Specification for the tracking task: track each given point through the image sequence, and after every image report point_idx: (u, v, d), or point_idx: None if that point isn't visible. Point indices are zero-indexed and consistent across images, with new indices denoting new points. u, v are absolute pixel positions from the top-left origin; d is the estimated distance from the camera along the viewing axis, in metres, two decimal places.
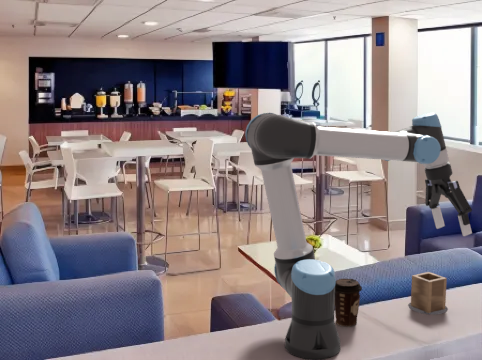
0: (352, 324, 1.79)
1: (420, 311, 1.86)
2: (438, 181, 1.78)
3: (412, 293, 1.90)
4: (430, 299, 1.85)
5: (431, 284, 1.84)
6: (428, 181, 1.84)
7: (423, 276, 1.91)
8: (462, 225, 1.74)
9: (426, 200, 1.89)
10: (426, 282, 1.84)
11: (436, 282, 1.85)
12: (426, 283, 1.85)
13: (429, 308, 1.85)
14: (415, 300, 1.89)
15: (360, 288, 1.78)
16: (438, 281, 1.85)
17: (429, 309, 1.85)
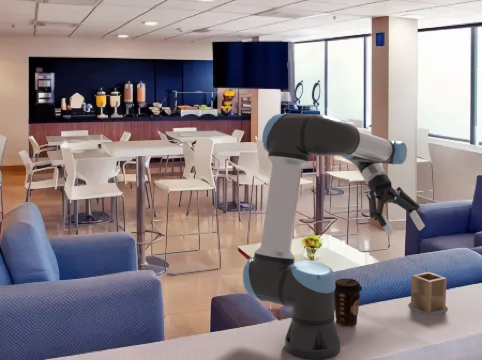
0: (352, 324, 1.79)
1: (420, 311, 1.86)
2: (386, 188, 2.04)
3: (412, 293, 1.90)
4: (430, 299, 1.85)
5: (431, 284, 1.84)
6: None
7: (423, 276, 1.91)
8: None
9: (374, 209, 1.96)
10: (426, 282, 1.84)
11: (436, 282, 1.85)
12: (426, 283, 1.85)
13: (429, 308, 1.85)
14: (415, 300, 1.89)
15: (360, 288, 1.78)
16: (438, 281, 1.85)
17: (429, 309, 1.85)
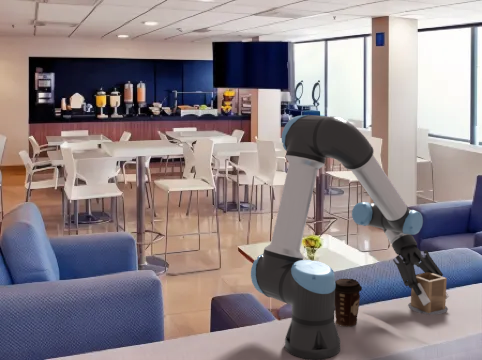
0: (352, 324, 1.79)
1: (420, 311, 1.86)
2: (411, 250, 1.95)
3: (412, 293, 1.90)
4: (430, 299, 1.85)
5: (431, 284, 1.84)
6: None
7: (423, 276, 1.91)
8: None
9: (408, 276, 1.87)
10: (426, 282, 1.85)
11: (436, 282, 1.85)
12: (426, 283, 1.85)
13: (429, 308, 1.85)
14: (415, 300, 1.89)
15: (360, 288, 1.78)
16: (438, 281, 1.85)
17: (429, 309, 1.85)
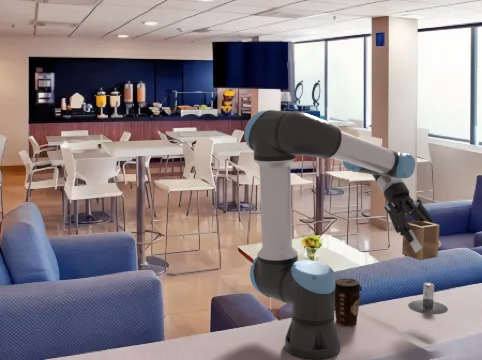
0: (352, 324, 1.79)
1: (420, 311, 1.86)
2: (403, 198, 1.89)
3: (404, 241, 1.84)
4: (422, 245, 1.78)
5: (423, 230, 1.78)
6: None
7: (415, 224, 1.85)
8: None
9: (399, 223, 1.81)
10: (418, 228, 1.78)
11: (428, 228, 1.79)
12: (418, 229, 1.78)
13: (421, 255, 1.79)
14: (407, 248, 1.83)
15: (360, 288, 1.78)
16: (430, 227, 1.79)
17: (421, 256, 1.79)
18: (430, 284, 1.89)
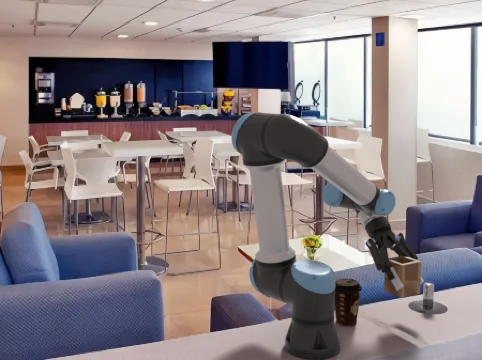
0: (352, 324, 1.79)
1: (420, 311, 1.86)
2: (384, 232, 1.85)
3: (385, 278, 1.80)
4: (403, 283, 1.75)
5: (404, 268, 1.74)
6: None
7: (397, 260, 1.81)
8: None
9: (380, 260, 1.77)
10: (399, 266, 1.75)
11: (410, 265, 1.75)
12: (399, 267, 1.75)
13: (402, 293, 1.75)
14: (388, 285, 1.79)
15: (360, 288, 1.78)
16: (412, 264, 1.75)
17: (402, 294, 1.75)
18: (430, 284, 1.89)
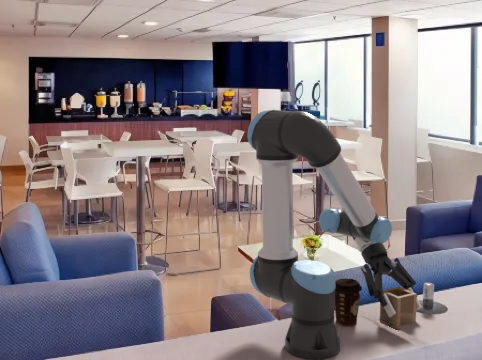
0: (352, 324, 1.79)
1: (420, 311, 1.86)
2: (381, 259, 1.85)
3: (381, 309, 1.81)
4: (399, 316, 1.75)
5: (400, 300, 1.75)
6: None
7: (393, 291, 1.81)
8: None
9: (373, 286, 1.77)
10: (395, 298, 1.75)
11: (405, 298, 1.76)
12: (394, 300, 1.75)
13: (398, 325, 1.76)
14: (384, 317, 1.80)
15: (360, 288, 1.78)
16: (407, 297, 1.76)
17: None
18: (430, 284, 1.89)
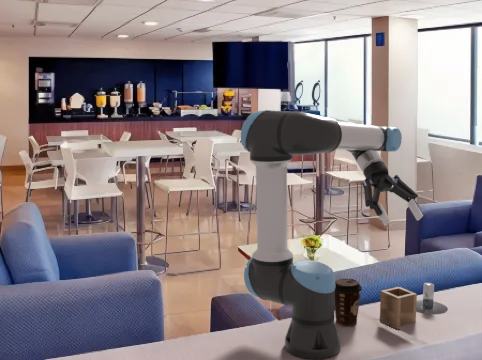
0: (352, 324, 1.79)
1: (420, 311, 1.86)
2: (382, 176, 1.93)
3: (381, 309, 1.81)
4: (399, 316, 1.75)
5: (400, 300, 1.75)
6: None
7: (393, 291, 1.81)
8: None
9: (370, 197, 1.85)
10: (395, 298, 1.75)
11: (405, 298, 1.76)
12: (394, 300, 1.75)
13: (398, 325, 1.76)
14: (384, 317, 1.80)
15: (360, 288, 1.78)
16: (407, 297, 1.76)
17: None
18: (430, 284, 1.89)
